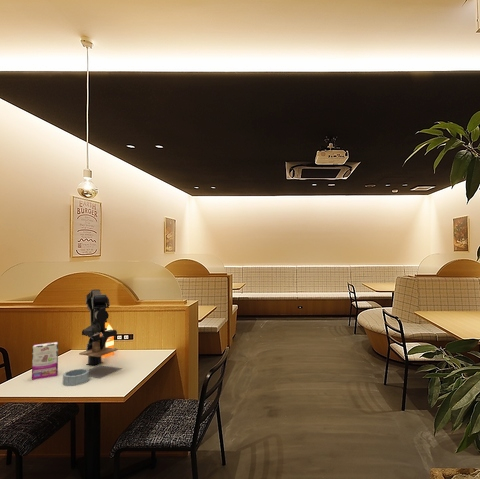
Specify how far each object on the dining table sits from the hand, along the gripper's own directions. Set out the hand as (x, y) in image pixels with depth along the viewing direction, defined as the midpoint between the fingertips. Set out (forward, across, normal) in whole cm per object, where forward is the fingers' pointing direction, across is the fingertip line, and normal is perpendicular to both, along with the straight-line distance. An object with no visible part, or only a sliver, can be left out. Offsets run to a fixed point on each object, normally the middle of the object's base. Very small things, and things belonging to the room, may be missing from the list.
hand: (99, 349), depth 169 cm
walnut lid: (+2, 0, 0) cm, 2 cm away
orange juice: (+12, -22, +26) cm, 36 cm away
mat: (+12, 0, +1) cm, 12 cm away
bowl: (+12, 0, -14) cm, 19 cm away
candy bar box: (+12, -21, -14) cm, 28 cm away
